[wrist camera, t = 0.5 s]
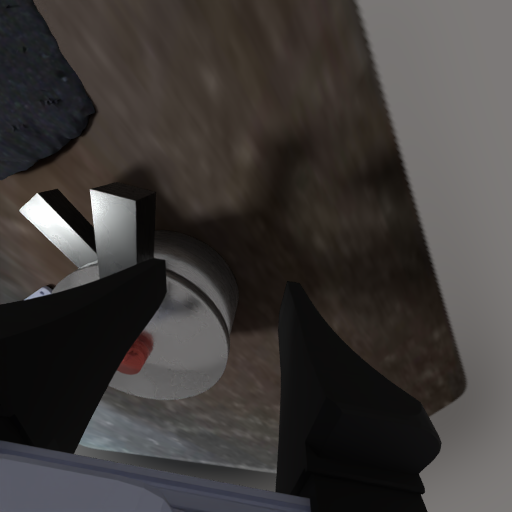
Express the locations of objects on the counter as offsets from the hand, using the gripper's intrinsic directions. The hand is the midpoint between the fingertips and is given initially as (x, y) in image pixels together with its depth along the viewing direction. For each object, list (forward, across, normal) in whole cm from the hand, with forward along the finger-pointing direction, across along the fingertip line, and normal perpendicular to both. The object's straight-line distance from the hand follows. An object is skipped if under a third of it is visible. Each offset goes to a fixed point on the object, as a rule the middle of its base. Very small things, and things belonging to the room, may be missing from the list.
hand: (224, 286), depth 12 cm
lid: (+4, +7, +7) cm, 10 cm away
